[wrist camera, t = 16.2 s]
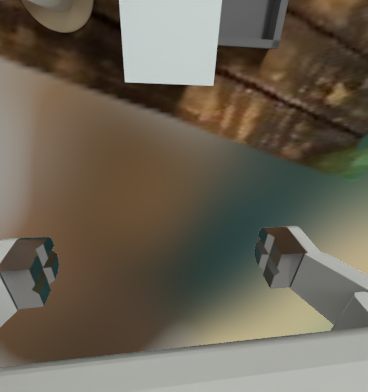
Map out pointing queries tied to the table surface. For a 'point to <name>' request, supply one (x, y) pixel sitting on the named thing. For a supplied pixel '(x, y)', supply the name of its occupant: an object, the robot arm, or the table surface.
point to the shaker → (55, 4)
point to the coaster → (62, 15)
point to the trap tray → (251, 23)
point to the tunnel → (170, 40)
